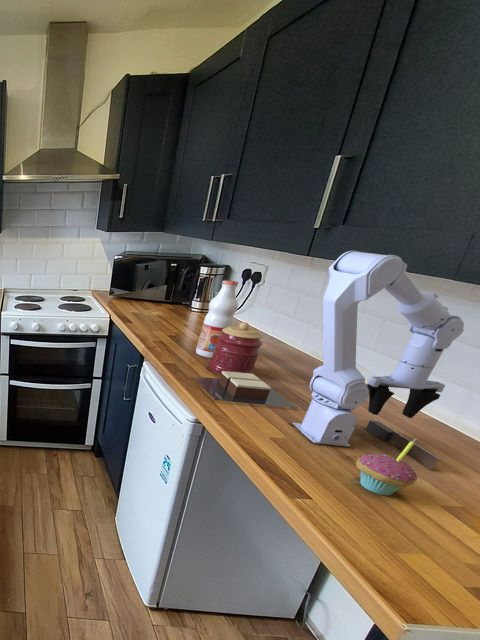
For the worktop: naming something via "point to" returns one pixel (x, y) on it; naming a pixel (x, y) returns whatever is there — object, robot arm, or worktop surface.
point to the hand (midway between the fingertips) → (389, 414)
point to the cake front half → (248, 389)
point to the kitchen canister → (236, 350)
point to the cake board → (223, 395)
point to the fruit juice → (217, 318)
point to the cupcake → (386, 472)
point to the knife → (402, 443)
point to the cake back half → (235, 377)
